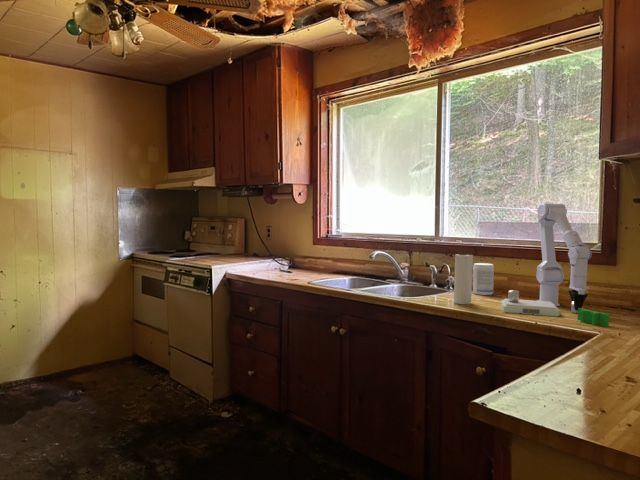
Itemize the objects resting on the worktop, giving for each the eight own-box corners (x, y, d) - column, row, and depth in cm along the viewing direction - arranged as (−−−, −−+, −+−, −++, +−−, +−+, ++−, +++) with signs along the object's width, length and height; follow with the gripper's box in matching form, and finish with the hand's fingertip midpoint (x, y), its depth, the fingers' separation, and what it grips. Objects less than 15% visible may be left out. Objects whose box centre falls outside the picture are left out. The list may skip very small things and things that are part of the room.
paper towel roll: (453, 304, 202) (455, 254, 201) (454, 301, 208) (455, 253, 207) (470, 305, 200) (472, 255, 199) (471, 302, 206) (473, 254, 204)
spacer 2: (570, 311, 191) (570, 300, 191) (581, 312, 190) (581, 301, 190) (572, 313, 187) (572, 302, 187) (583, 314, 186) (583, 303, 186)
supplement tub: (497, 294, 228) (498, 264, 227) (483, 296, 223) (484, 265, 222) (482, 291, 236) (483, 262, 235) (468, 292, 232) (469, 263, 231)
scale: (501, 305, 201) (501, 297, 201) (552, 309, 195) (553, 301, 195) (503, 312, 187) (503, 304, 187) (559, 316, 181) (559, 308, 181)
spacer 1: (507, 300, 195) (508, 289, 195) (518, 301, 194) (518, 290, 194) (508, 302, 192) (508, 291, 191) (518, 303, 190) (519, 292, 190)
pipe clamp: (572, 321, 175) (573, 308, 175) (579, 320, 177) (580, 308, 177) (601, 327, 165) (602, 314, 165) (608, 326, 167) (609, 313, 167)
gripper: (594, 278, 180) (592, 313, 180) (585, 274, 193) (583, 306, 194) (573, 277, 182) (571, 312, 183) (566, 273, 196) (564, 305, 196)
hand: (576, 309), depth 189 cm, fingers closed on spacer 2, 4 cm apart
